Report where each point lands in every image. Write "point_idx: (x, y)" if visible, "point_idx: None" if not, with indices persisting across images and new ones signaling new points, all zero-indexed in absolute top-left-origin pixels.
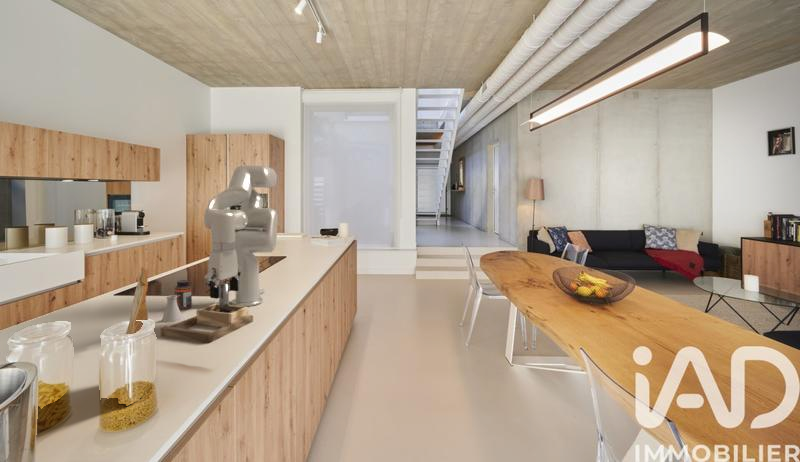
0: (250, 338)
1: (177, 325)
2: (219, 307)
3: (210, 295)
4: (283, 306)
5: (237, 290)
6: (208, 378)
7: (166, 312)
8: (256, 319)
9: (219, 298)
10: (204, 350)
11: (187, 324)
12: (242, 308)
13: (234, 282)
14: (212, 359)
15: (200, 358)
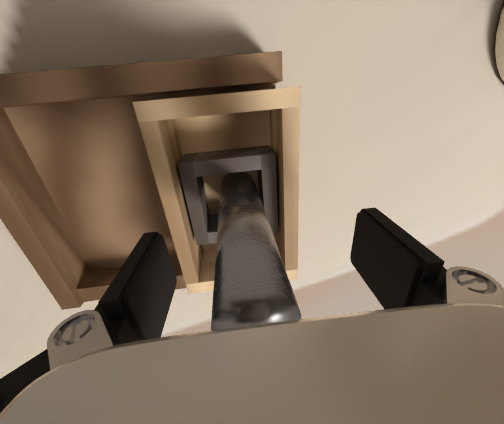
0: (195, 306)
1: (23, 104)
2: (221, 202)
3: (139, 242)
4: (487, 205)
5: (355, 264)
6: (7, 370)
7: None
8: (333, 222)
9: (218, 231)
10: None
11: (98, 98)
12: None
13: (391, 296)
14: (55, 325)
15: (36, 304)
